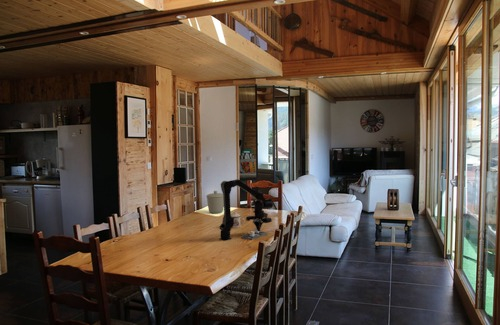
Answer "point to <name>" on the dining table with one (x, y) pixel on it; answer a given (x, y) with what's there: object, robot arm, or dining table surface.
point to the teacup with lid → (237, 220)
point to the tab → (252, 233)
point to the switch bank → (257, 235)
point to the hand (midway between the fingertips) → (259, 231)
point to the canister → (215, 202)
